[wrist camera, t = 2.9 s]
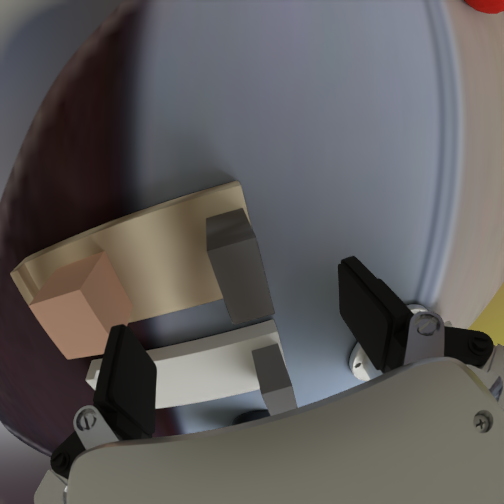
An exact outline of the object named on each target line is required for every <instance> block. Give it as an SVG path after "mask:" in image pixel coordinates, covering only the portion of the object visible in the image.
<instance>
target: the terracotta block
mask: <svg viewBox="0 0 504 504" xmlns="http://www.w3.org/2000/svg"><path fill="white" fill-rule="evenodd" d="M29 307H30V309H31V310H32V312H33V313H34V315H35V316H36V318H37V319H38V321H39V322H40V324H41V325H42V327H43V328H44V330H45V331H46V332H47V334H48V335H49V336H50V338H51V339H52V340H53V342H54V343H55V344H56V346H57V347H58V348H59V350H60V351H61V352H62V353H63V355H64V356H65V357H66V358H67V359H74V358H81V357H88V356H94V355H100V354H104V351H105V347H106V343H107V340H108V336H109V333H110V329H111V327H112V326H116V325H120V324H124V325H126V326H127V324H128V320H129V317H130V314H131V311H132V307H133V305H132V303H131V301H130V299H129V298H128V296H127V294H126V292H125V290H124V288H123V286H122V285H121V283H120V281H119V279H118V277H117V275H116V273H115V271H114V269H113V267H112V265H111V263H110V261H109V259H108V257H107V254H106V252H105V251H103V252H100V253H98V254H95V255H92V256H89V257H86V258H84V259H81V260H78V261H76V262H73V263H70V264H68V265H65V266H62V267H60V268H57V269H56V270H55V271H54V273H53V274H52V275H51V276H50V278H49V279H48V280H47V281H46V283H45V284H44V285H43V287H42V288H41V289H40V291H39V292H38V293H37V295H36V296H35V297H34V299H33V300H32V302H31V303H30V304H29Z"/></svg>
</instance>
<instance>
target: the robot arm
mask: <svg viewBox="0 0 504 504" xmlns="http://www.w3.org/2000/svg"><path fill="white" fill-rule="evenodd" d="M338 278H339V302H340V314H341V316H342V318H343V320H344V321H345V323H346V324H347V326H348V327H349V329H350V330H351V332H352V333H353V335H354V336H355V338H356V339H357V341H358V342H357V344H356V346H355V348H354V349H353V351H352V354H351V357H350V362H349V366H350V369H351V371H352V373H353V375H354V376H355V377H356V378H357V379H359V380H363V381H367V382H364V383H362V384H360V385H357V386H355V387H352V388H350V389H348V390H345V391H343V392H340V393H338V394H335V395H333V396H330V397H327V398H325V399H322V400H319V401H316V402H314V403H311V404H308V405H305V406H302V407H299V408H296V409H293V410H289V411H286V412H283V413H280V414H276V415H273V416H269V417H265V418H262V419H258V420H254V421H250V422H246V423H242V424H237V425H233V426H228V427H223V428H218V429H213V430H208V431H202V432H196V433H189V434H183V435H175V436H166V437H157V438H152V433H154V432H155V404H156V381H157V367H156V365H155V363H154V361H153V360H152V359H151V357H150V356H149V355H148V353H147V352H146V350H145V349H144V348H143V346H142V345H141V343H140V342H139V340H138V339H137V338H136V336H135V335H134V333H133V332H132V330H131V329H130V327H129V326H126V325H124V324H120V325H116V326H112V327H111V329H110V333H109V336H108V340H107V343H106V347H105V351H104V355H103V359H102V362H101V367H100V371H99V375H98V379H97V384H96V388H95V393H94V398H93V401H94V405H93V406H84V407H82V408H81V409H80V410H79V411H78V412H77V413H76V415H75V417H74V428H75V431H74V432H73V433H72V434H71V435H70V436H69V437H68V438H67V439H66V440H65V441H64V442H63V443H62V444H61V445H60V446H59V447H58V448H57V449H56V450H55V451H54V452H53V453H52V456H51V467H52V470H50V469H48V471H47V473H46V475H45V477H44V478H43V480H42V482H41V484H40V486H39V488H38V489H37V491H36V493H35V496H34V502H35V504H504V346H502V345H500V344H498V345H497V346H495V345H493V341H492V340H491V338H490V337H489V336H488V335H487V334H485V333H484V332H480V331H474V330H467V329H461V328H454V327H452V324H451V322H449V321H447V322H445V323H444V322H443V320H442V318H441V317H440V316H439V315H438V314H436V313H434V312H430V311H428V310H427V309H426V308H425V307H423V306H421V305H417V304H413V305H407V306H406V305H405V304H404V303H403V302H402V301H401V299H400V298H399V297H398V296H397V295H396V294H395V293H394V292H393V291H392V290H391V289H390V288H389V287H388V286H387V285H386V284H385V283H384V282H383V281H382V280H381V279H379V278H376V277H375V276H374V275H373V274H372V273H371V272H370V271H369V270H368V269H367V268H366V267H365V266H364V265H363V264H362V263H361V262H360V261H359V260H358V259H357V258H356V257H355V256H351V257H348V258H345V259H342V260H341V264H339V265H338Z"/></svg>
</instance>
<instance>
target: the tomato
mask: <svg viewBox="0 0 504 504" xmlns="http://www.w3.org/2000/svg"><path fill="white" fill-rule="evenodd" d="M464 1H465V2H466V3H467V4H468V5H470V6H471V7H472V8H474V9H475V10H477V11H480V12H484V13H488V14H497V13H499V12H502V11H504V0H464Z"/></svg>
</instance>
